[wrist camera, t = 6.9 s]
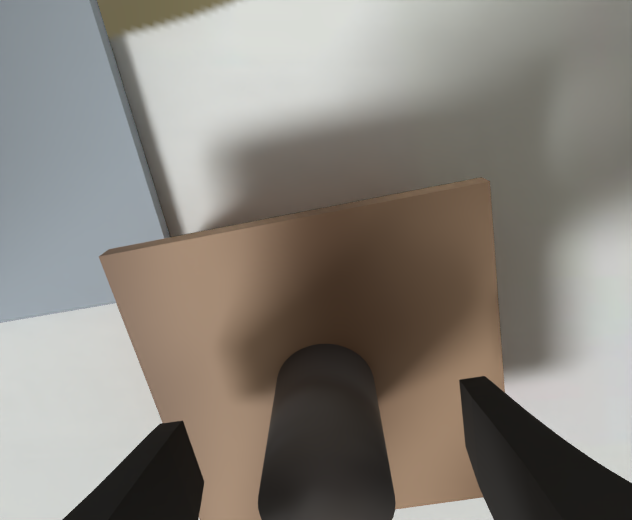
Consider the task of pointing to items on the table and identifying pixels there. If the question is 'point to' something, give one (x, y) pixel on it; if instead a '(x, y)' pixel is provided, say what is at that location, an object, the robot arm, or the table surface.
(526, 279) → the table surface
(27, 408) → the table surface
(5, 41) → the mat
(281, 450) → the lid
